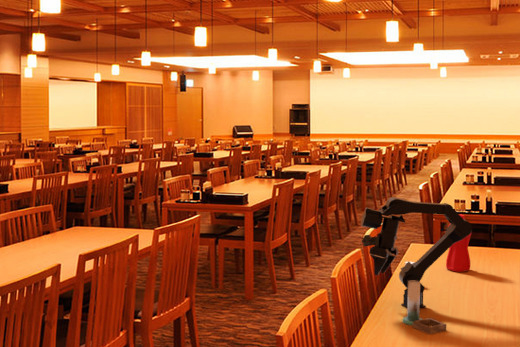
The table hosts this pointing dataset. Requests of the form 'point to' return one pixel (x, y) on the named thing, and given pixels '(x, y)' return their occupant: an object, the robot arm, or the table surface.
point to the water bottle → (459, 255)
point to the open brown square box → (424, 327)
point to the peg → (413, 300)
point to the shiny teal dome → (408, 321)
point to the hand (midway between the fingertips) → (379, 274)
